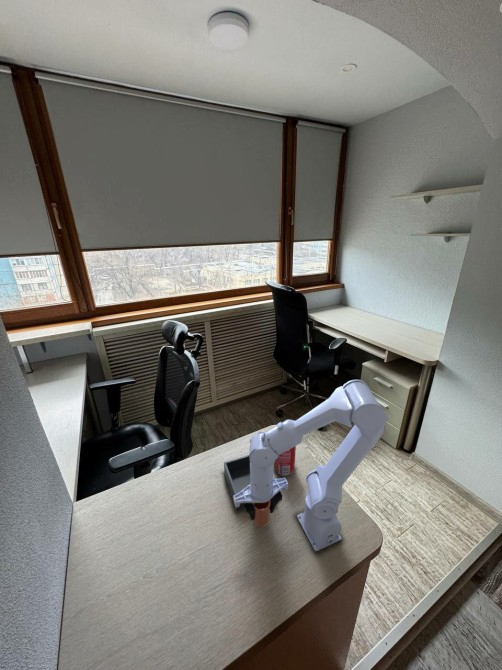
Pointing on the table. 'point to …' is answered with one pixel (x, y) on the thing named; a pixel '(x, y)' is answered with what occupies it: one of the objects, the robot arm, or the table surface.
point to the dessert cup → (262, 513)
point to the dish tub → (237, 475)
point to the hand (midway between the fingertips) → (261, 513)
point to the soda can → (285, 462)
